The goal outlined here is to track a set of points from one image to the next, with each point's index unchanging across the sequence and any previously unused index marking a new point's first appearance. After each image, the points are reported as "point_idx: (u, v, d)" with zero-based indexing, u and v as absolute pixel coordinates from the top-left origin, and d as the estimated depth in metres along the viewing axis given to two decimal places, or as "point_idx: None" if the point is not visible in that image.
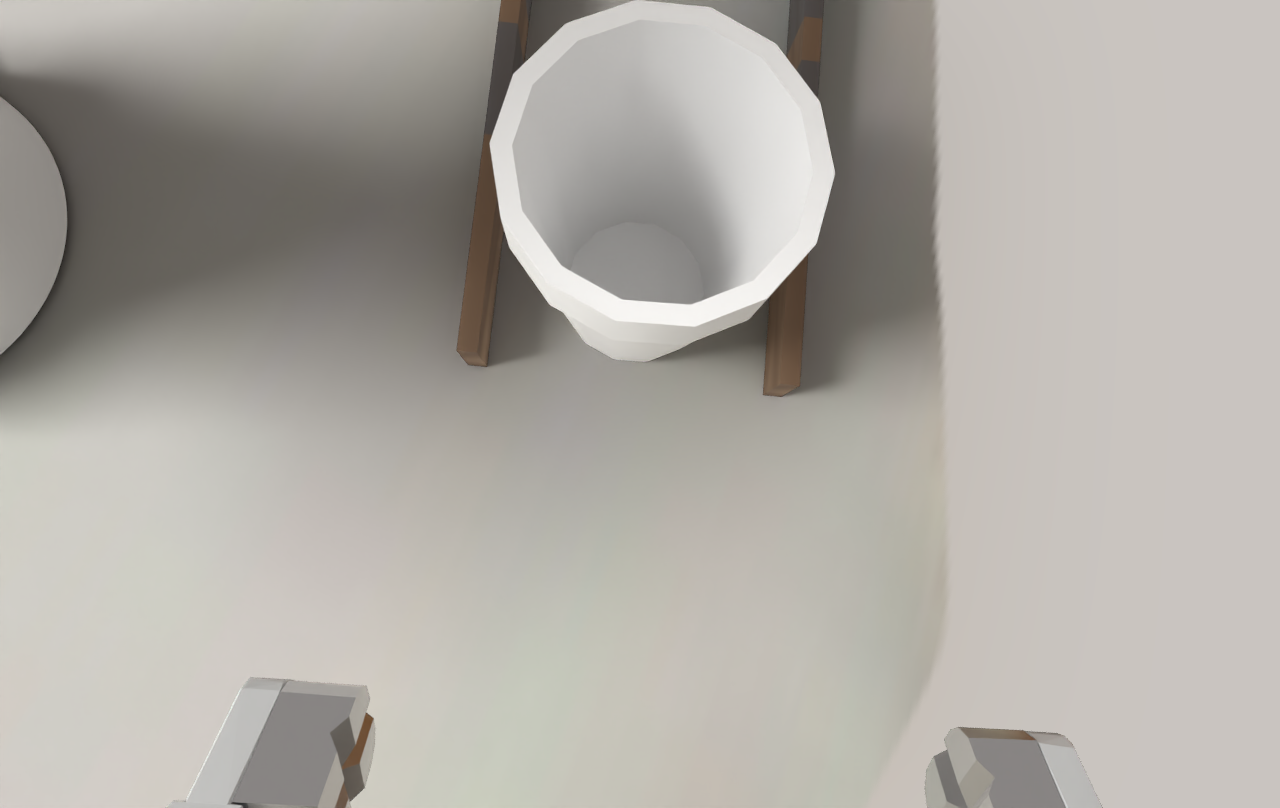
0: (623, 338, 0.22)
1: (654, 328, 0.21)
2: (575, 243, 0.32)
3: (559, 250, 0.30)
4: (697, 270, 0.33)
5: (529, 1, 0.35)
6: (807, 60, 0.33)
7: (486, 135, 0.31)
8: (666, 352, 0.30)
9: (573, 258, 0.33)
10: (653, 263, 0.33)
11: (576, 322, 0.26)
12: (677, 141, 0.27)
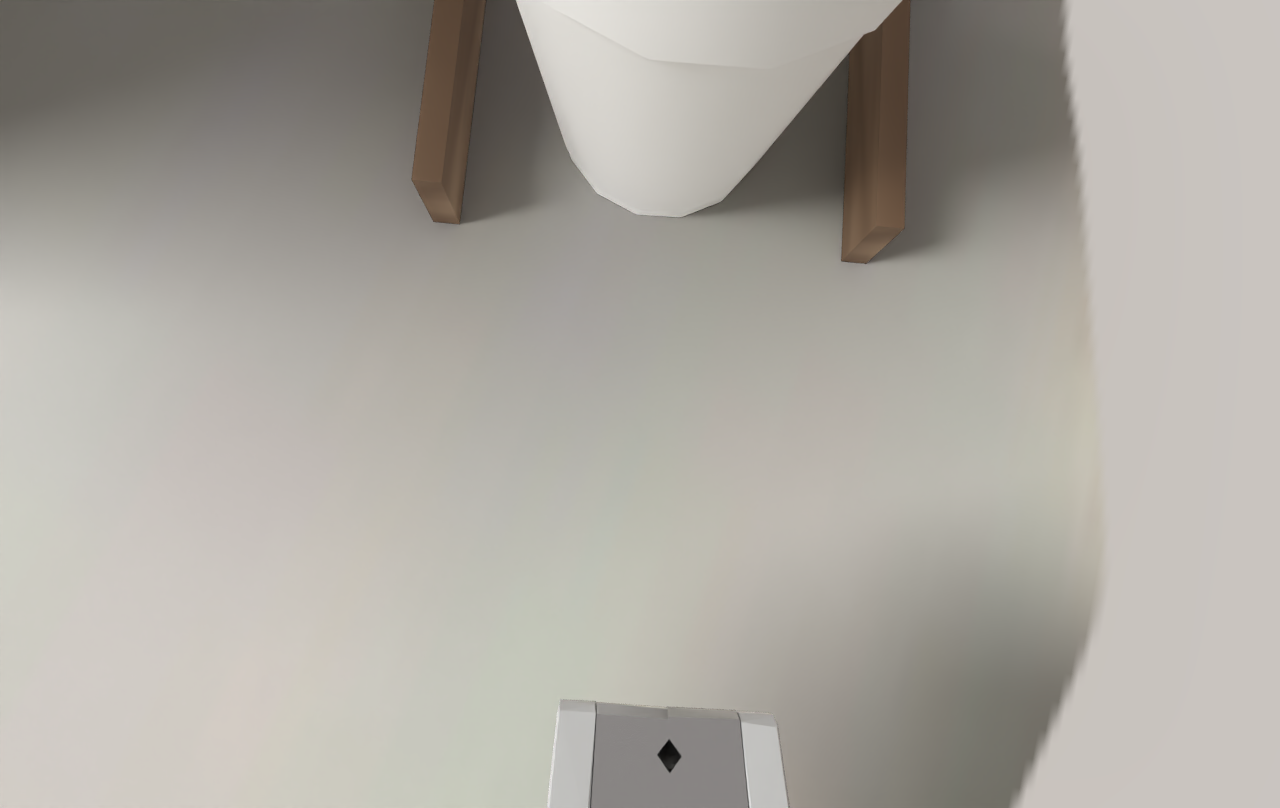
0: (668, 50, 0.13)
1: None
2: None
3: None
4: None
5: None
6: None
7: None
8: (713, 181, 0.21)
9: None
10: None
11: (585, 87, 0.17)
12: None
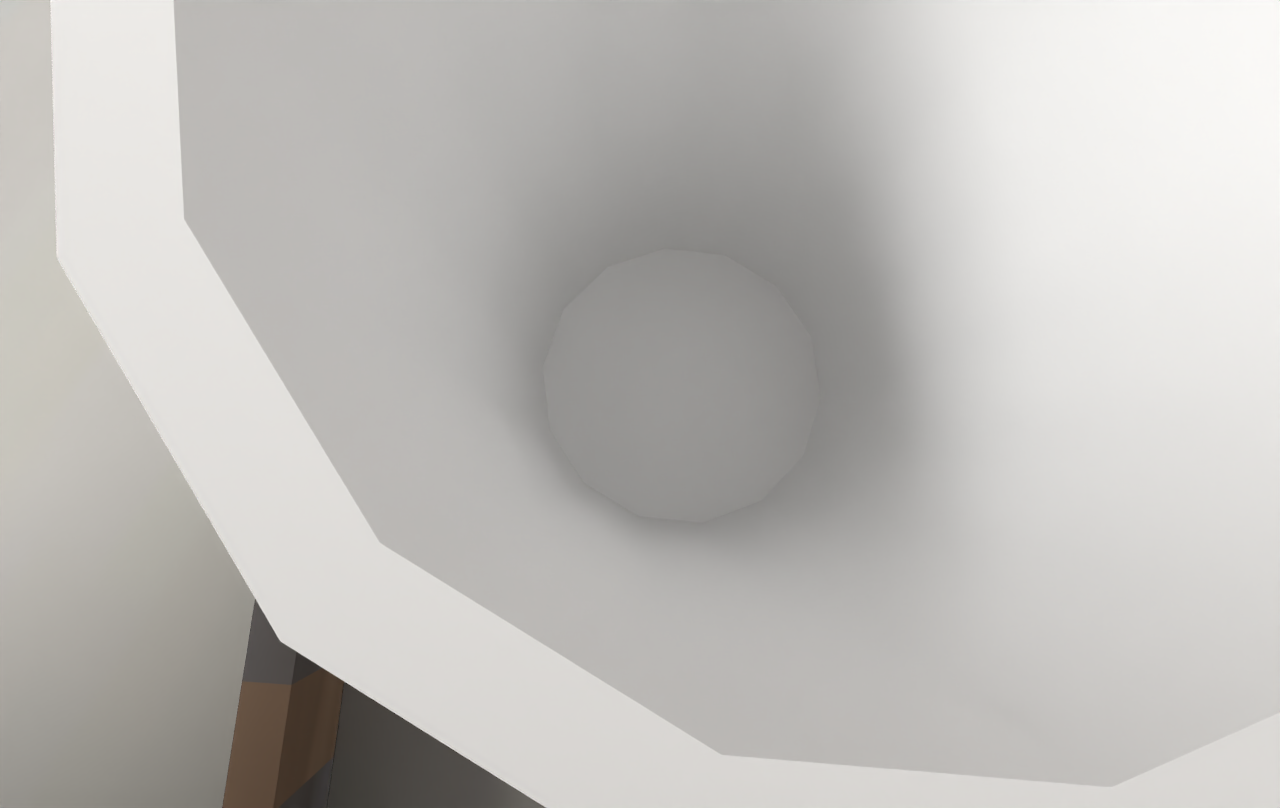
0: None
1: None
2: (563, 290, 0.16)
3: (520, 312, 0.13)
4: (807, 350, 0.17)
5: None
6: None
7: None
8: None
9: (558, 319, 0.16)
10: (719, 334, 0.17)
11: None
12: (824, 51, 0.10)
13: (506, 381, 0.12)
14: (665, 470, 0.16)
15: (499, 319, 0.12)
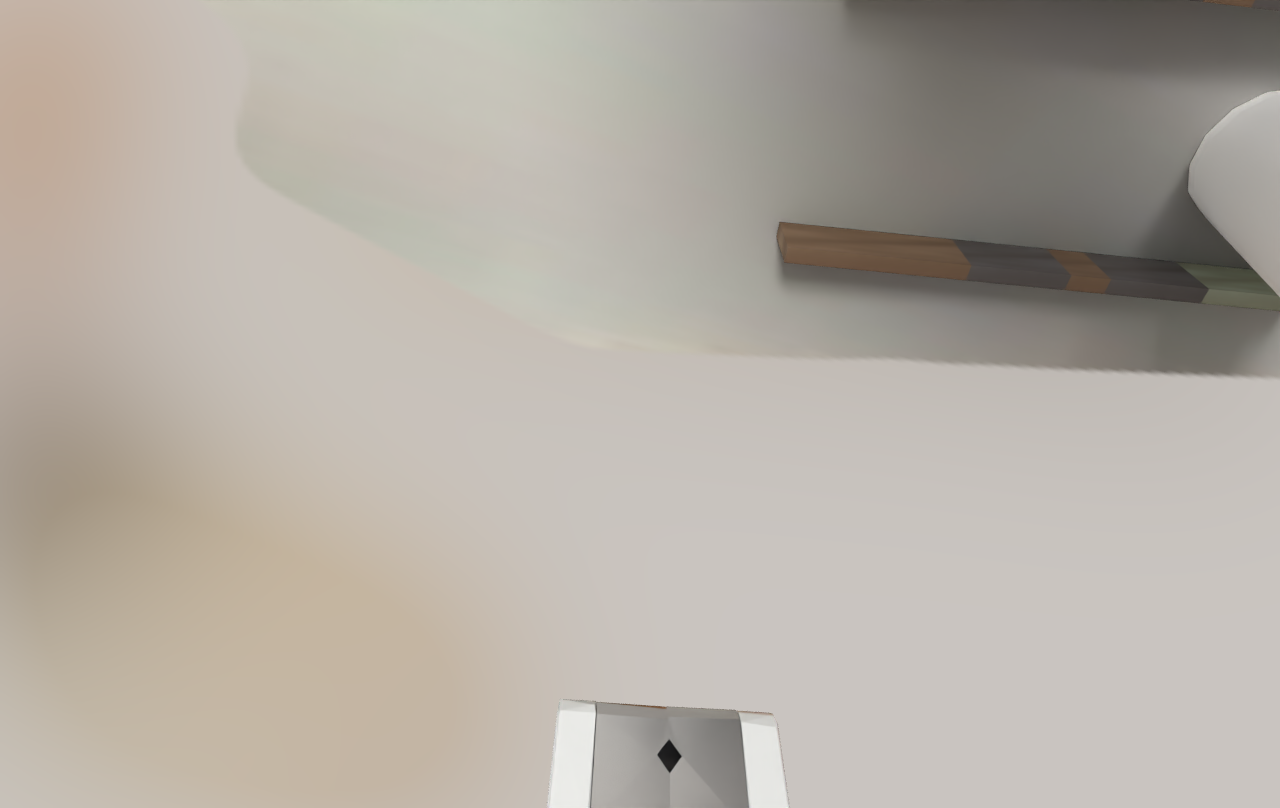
0: None
1: None
2: None
3: None
4: None
5: None
6: (1068, 279, 0.38)
7: None
8: (1218, 199, 0.35)
9: None
10: None
11: None
12: None
13: None
14: None
15: None
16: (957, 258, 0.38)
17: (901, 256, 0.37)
